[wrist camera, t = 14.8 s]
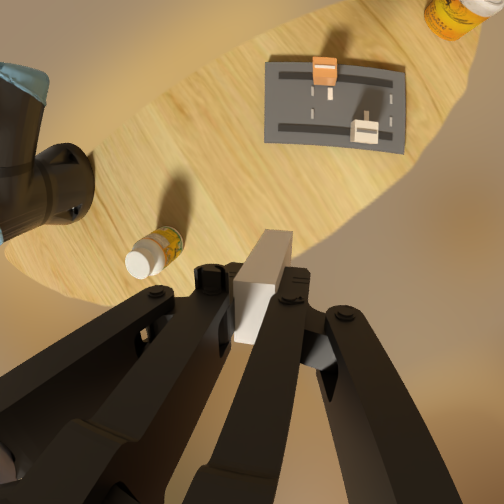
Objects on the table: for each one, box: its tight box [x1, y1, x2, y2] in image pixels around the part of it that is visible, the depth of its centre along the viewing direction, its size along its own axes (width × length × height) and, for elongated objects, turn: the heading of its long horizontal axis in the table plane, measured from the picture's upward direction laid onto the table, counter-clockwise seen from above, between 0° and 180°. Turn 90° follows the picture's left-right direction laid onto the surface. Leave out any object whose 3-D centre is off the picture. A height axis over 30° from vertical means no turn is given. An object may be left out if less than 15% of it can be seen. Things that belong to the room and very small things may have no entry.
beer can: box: [424, 0, 504, 41], centre depth 19 cm, size 6×6×15 cm
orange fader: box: [313, 57, 337, 86], centre depth 29 cm, size 3×2×5 cm
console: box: [264, 62, 405, 155], centre depth 34 cm, size 18×11×2 cm, turn 90°
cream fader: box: [350, 120, 379, 144], centre depth 31 cm, size 3×2×5 cm
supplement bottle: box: [125, 226, 183, 279], centre depth 42 cm, size 5×5×10 cm
